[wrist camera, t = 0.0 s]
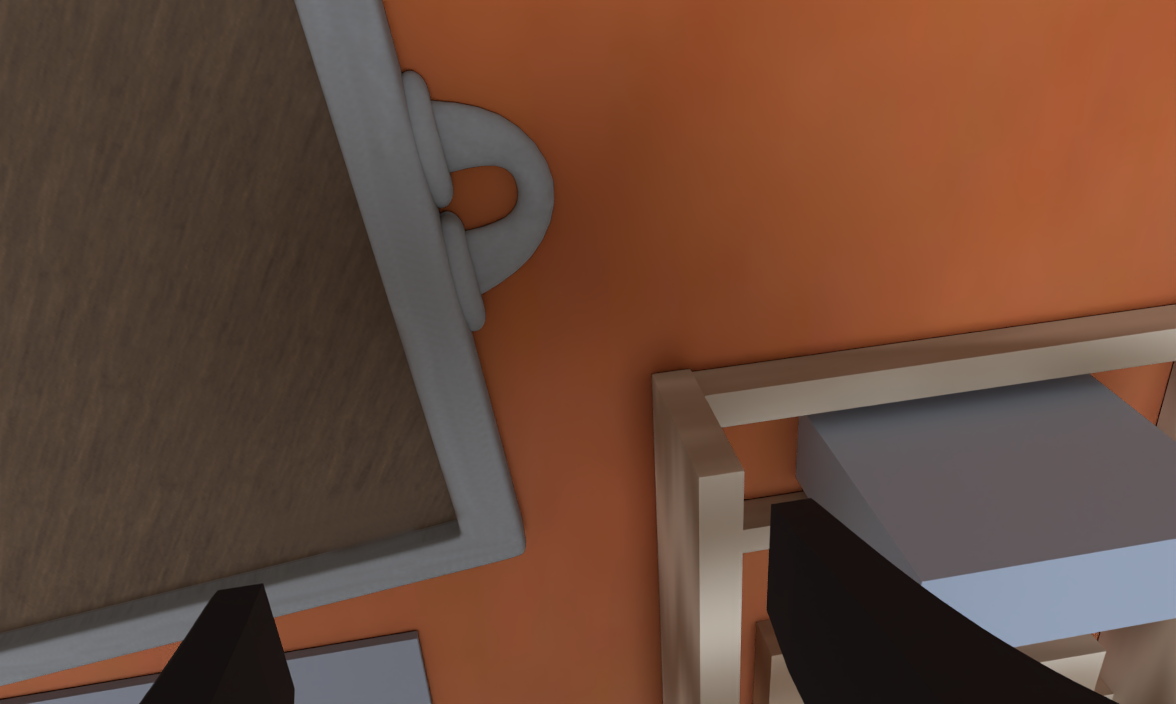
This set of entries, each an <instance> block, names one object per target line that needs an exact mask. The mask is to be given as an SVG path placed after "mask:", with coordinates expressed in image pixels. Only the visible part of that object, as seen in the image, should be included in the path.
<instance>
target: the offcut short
mask: <svg viewBox="0 0 1176 704" xmlns="http://www.w3.org/2000/svg"><path fill="white" fill-rule="evenodd" d="M1014 648H1016V649H1018V650H1019V651H1021V652H1023V653H1024V654H1026V655H1028V656H1030V657H1031V658H1033V659H1035V660H1037V661H1038V662H1040V663H1042V664H1043V665H1045V666H1047V667H1049V668H1050V669H1052V670H1054V671H1056V672H1058V673H1060V674H1062V675H1063V676H1065V677H1067V678H1069V679H1071V680H1073V681H1075V682H1077V683H1079V684H1081V685H1083V686H1085V687H1087V688H1089V689H1091V690H1093V691H1094V689H1095V686H1096V683H1097V679H1098V676H1099V673H1100V670H1101V666H1102V663H1103V660H1104V657H1105V653H1106V650H1105V649H1104V648H1103V647H1102V646H1101V645H1100V644H1099V642H1098V641H1097V640H1096V639H1095V638H1094V637H1093V635H1092V634H1091V633H1090V634H1085V635H1079V636H1074V637H1068V638H1063V639H1057V640H1052V641H1046V642H1041V643H1035V644H1029V645H1024V646H1018V647H1014Z"/></svg>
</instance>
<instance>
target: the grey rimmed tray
mask: <svg viewBox="0 0 1176 704" xmlns="http://www.w3.org/2000/svg"><path fill="white" fill-rule="evenodd" d="M478 166H499V167H502V168H505V169H506V170H508V171H509V172H510V173H511V174H512V175H513V177H514V179H515V180H516V184H517V188H518V199H517V204H516V206H515V207H514V209H513V211H512V212H511V213H510V214H508V215H507V216H506V217H505V218H503V219H501V220H499V221H497V222H495V223H492V224H489V225H486V226H483V227H479V228H476V229H472V230H468V231H465V229H464V226H463V224H462V222H461V220H460V219H459V217H458V216H457V215H455V214H454V213H452V212H449V211H445V212H442V213H441V214H440V213H439V209H438V208H444V207H446V206H448V205H449V204H450V202H451V200H452V197H453V184H452V179H451V175H450V172H454V171H458V170H462V169H466V168H472V167H478ZM553 206H554V184H553V178H552V176H551V173H550V170H549V167H548V164H547V161H546V160H545V158H544V157H543V155H542V154H541V152H540V151H539V149H538V147H537V146H536V144H535V143H534V142H533V141H532V140H531V139H530V138H529V137H528V136H527V135H526V134H525V133H524V132H523V131H522V130H521V129H520V128H519V127H518V126H516V125H515V124H513V123H511V122H510V121H508V120H507V119H505V118H504V117H502V116H500V115H499V114H496V113H493V112H490V111H488V110H485V109H482V108H480V107H476V106H471V105H465V104H460V103H454V102H443V101H431V99H430V94H429V90H428V87H427V85H426V83H425V81H424V80H423V78H422V77H421V76H420V75H419V74H418V73H416V72H414V71H405V72H404V73H402V72H401V68H400V65H399V61H398V57H397V53H396V50H395V46H394V42H393V39H392V35H391V31H390V28H389V24H388V20H387V17H386V13H385V9H384V5H383V2H382V0H0V686H2V685H6V684H10V683H14V682H18V681H22V680H26V679H30V678H34V677H38V676H42V675H46V674H50V673H54V672H58V671H62V670H66V669H70V668H74V667H78V666H82V665H86V664H90V663H94V662H98V661H102V660H106V659H110V658H114V657H118V656H122V655H126V654H130V653H134V652H138V651H142V650H146V649H150V648H154V647H158V646H162V645H166V644H170V643H174V642H178V641H182V640H184V638H185V637H186V635H187V634H188V632H189V631H190V629H191V628H192V626H193V625H194V623H195V621H196V620H197V618H198V617H199V615H200V614H201V612H202V611H203V609H204V608H205V606H206V605H207V603H208V602H209V600H210V599H211V597H212V596H213V595H214V594H215V593H216V592H217V590H222V589H229V588H235V587H242V586H248V585H254V584H261V583H263V584H264V587H265V591H266V594H267V597H268V601H269V604H270V607H271V611H272V614H273V617H278V616H282V615H286V614H290V613H294V612H298V611H302V610H306V609H310V608H314V607H318V606H322V605H326V604H330V603H334V602H338V601H342V600H346V599H350V598H354V597H358V596H362V595H366V594H370V593H374V592H378V591H382V590H386V589H390V588H394V587H398V586H402V585H406V584H410V583H414V582H418V581H422V580H426V579H430V578H434V577H438V576H442V575H446V574H450V573H454V572H458V571H462V570H466V569H470V568H474V567H478V566H482V565H486V564H490V563H494V562H498V561H501V560H505V559H509V558H512V557H515V556H518V555H521V554H523V553H524V551H525V547H526V539H525V532H524V526H523V521H522V517H521V513H520V509H519V505H518V501H517V497H516V494H515V490H514V486H513V483H512V479H511V475H510V471H509V468H508V464H507V460H506V457H505V453H504V449H503V446H502V442H501V438H500V434H499V431H498V427H497V423H496V420H495V416H494V412H493V409H492V405H491V401H490V397H489V394H488V390H487V386H486V383H485V379H484V375H483V372H482V368H481V364H480V360H479V357H478V353H477V349H476V346H475V342H474V338H473V335H472V331H478V330H479V329H481V328H482V327H483V325H484V323H485V319H486V313H485V307H484V303H483V299H482V296H481V294H483V293H485V292H486V291H488V290H490V289H491V288H493V287H495V286H496V285H498V284H500V283H501V282H502V281H504V280H505V279H506V278H508V277H509V276H510V275H512V274H513V273H515V272H516V271H517V270H518V269H519V268H520V267H521V266H522V265H523V264H524V263H525V262H526V261H527V260H528V259H529V258H530V257H531V256H532V255H533V253H534V252H535V250H536V249H537V247H538V246H539V244H540V243H541V242H542V240H543V238H544V235H545V233H546V231H547V228H548V226H549V224H550V221H551V216H552V211H553Z"/></svg>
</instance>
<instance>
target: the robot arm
mask: <svg viewBox="0 0 1176 704" xmlns="http://www.w3.org/2000/svg"><path fill="white" fill-rule="evenodd" d="M767 612H768V615H769V618H770V621H771V624H772V627H773V629H774V632H775V635H776V638H777V641H778V644H779V647H780V650H781V652H782V655H783V658H784V660H785V663H786V666H787V669H788V671H789V674H790V676H791V678H792V680H793V682H794V684H795V686H796V688H797V690H798V692H799V694H800V696H801V698H802V700H803V702H804V704H1119V703H1117V702H1115V701H1113V700H1111V699H1109V698H1107V697H1105V696H1103V695H1101V694H1099V693H1097V692H1095V691H1093V690H1091V689H1089V688H1087V687H1085V686H1083V685H1081V684H1079V683H1077V682H1075V681H1073V680H1071V679H1069V678H1067V677H1065V676H1063V675H1062V674H1060V673H1058V672H1056V671H1054V670H1052V669H1050V668H1049V667H1047V666H1045V665H1043V664H1042V663H1040V662H1038V661H1037V660H1035V659H1033V658H1031V657H1030V656H1028V655H1026V654H1024V653H1023V652H1021V651H1019V650H1018V649H1016V648H1014V647H1012V646H1011V645H1009V644H1007V643H1006V642H1004V641H1002V640H1001V639H999V638H998V637H996V636H994V635H993V634H991V633H990V632H988V631H986V630H985V629H983V628H982V627H980V626H979V625H977V624H976V623H974V622H973V621H971V620H970V619H968V618H967V617H965V616H964V615H962V614H961V613H959V612H958V611H956V610H955V609H954V608H952V607H951V606H949V605H948V604H946V603H945V602H943V601H942V600H940V599H939V598H938V597H936V596H935V595H934V594H932V593H931V592H929V591H928V590H927V589H925V588H924V587H923V586H921V585H920V584H919V583H917V582H916V581H915V580H913V579H912V578H911V577H909V576H908V575H907V574H905V573H904V572H903V571H901V570H900V569H899V568H897V567H896V566H895V565H894V564H892V563H891V562H890V561H889V560H887V559H886V558H885V557H883V556H882V555H881V554H880V553H878V552H877V551H876V550H875V549H873V548H872V547H871V546H870V545H869V544H867V543H866V542H865V541H864V540H862V539H861V538H860V537H859V536H857V535H856V534H855V533H854V532H853V531H851V530H850V529H849V528H848V527H846V526H845V525H844V524H843V523H842V522H840V521H839V520H838V519H837V518H835V517H834V516H833V515H832V514H831V513H829V512H828V511H827V510H826V509H824V508H823V507H822V506H821V505H820V504H818V503H817V502H816V501H815V500H813V499H812V498H808V499H801V500H795V501H789V502H782V503H776V504H771V518H770V542H769V566H768V589H767ZM294 698H295V688H294V684H293V681H292V678H291V674H290V671H289V668H288V664H287V661H286V658H285V654H284V651H283V647H282V644H281V641H280V637H279V634H278V631H277V627H276V624H275V621H274V617H273V614H272V611H271V607H270V604H269V601H268V597H267V594H266V591H265V587H264V584H263V583H261V584H254V585H248V586H242V587H235V588H229V589H222V590H217V592H216V593H215V594H214V595H213V596H212V597H211V599H210V600H209V602H208V603H207V605H206V606H205V608H204V609H203V611H202V612H201V614H200V615H199V617H198V618H197V620H196V621H195V623H194V625H193V626H192V628H191V629H190V631H189V632H188V634H187V635H186V637H185V638H184V640H183V641H182V643H181V644H180V646H179V647H178V649H177V650H176V652H175V653H174V655H173V656H172V657H171V659H170V660H169V662H168V663H167V665H166V666H165V668H164V669H163V671H162V672H161V674H160V675H159V676H158V678H157V679H156V681H155V682H154V683H153V685H152V686H151V688H150V689H149V690H148V692H147V693H146V695H145V696H144V697H143V699H142V700H141V702H140V703H139V704H294Z"/></svg>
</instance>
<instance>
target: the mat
mask: <svg viewBox="0 0 1176 704" xmlns="http://www.w3.org/2000/svg"><path fill="white" fill-rule="evenodd" d="M284 654H285V658H286V661H287V664H288V668H289V671H290V674H291V678H292V681H293V684H294V688H295V698H294V704H432V700H431V695H430V691H429V686H428V681H427V676H426V671H425V666H424V661H423V656H422V651H421V647H420V642H419V637H418V632H417V631H413V632H407V633H401V634H395V635H389V636H383V637H377V638H371V639H365V640H359V641H353V642H347V643H341V644H335V645H329V646H323V647H317V648H311V649H305V650H299V651H293V652H287V653H284ZM160 674H161V673H160ZM160 674H154V675H148V676H142V677H136V678H130V679H124V680H118V681H112V682H106V683H100V684H94V685H88V686H82V687H76V688H70V689H64V690H58V691H52V692H46V693H40V694H34V695H28V696H22V697H16V698H10V699H4V700H0V704H139V703H140V702H141V700H142V699H143V697H144V696H145V695H146V693H147V692H148V690H149V689H150V688H151V686H152V685H153V683H154V682H155V681H156V679H157V678H158V676H159V675H160Z"/></svg>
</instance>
